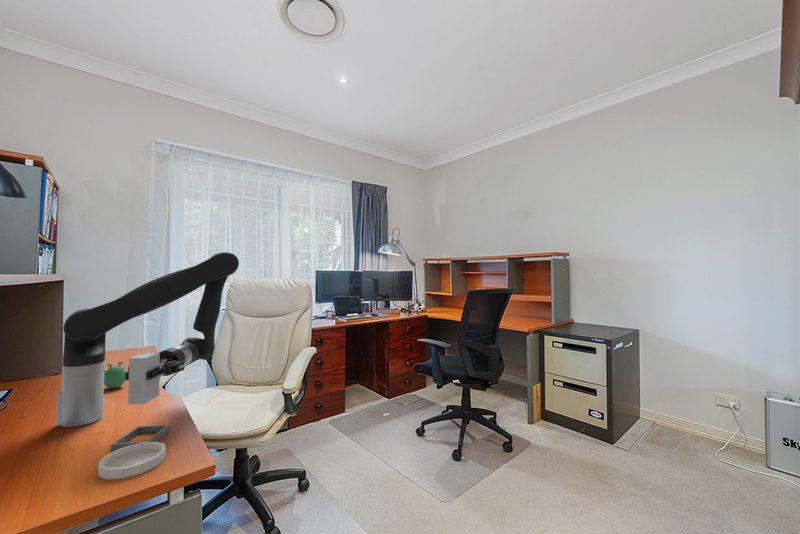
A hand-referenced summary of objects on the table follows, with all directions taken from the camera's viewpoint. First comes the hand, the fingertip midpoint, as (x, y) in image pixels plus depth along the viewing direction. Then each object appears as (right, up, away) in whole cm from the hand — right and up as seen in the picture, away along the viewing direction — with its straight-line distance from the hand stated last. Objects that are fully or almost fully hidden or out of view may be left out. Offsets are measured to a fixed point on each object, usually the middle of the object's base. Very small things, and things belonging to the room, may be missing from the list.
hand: (138, 376), depth 86 cm
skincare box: (0, -7, +2) cm, 8 cm away
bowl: (+6, -17, -9) cm, 20 cm away
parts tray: (0, -18, +2) cm, 18 cm away
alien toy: (-44, -19, +43) cm, 64 cm away
